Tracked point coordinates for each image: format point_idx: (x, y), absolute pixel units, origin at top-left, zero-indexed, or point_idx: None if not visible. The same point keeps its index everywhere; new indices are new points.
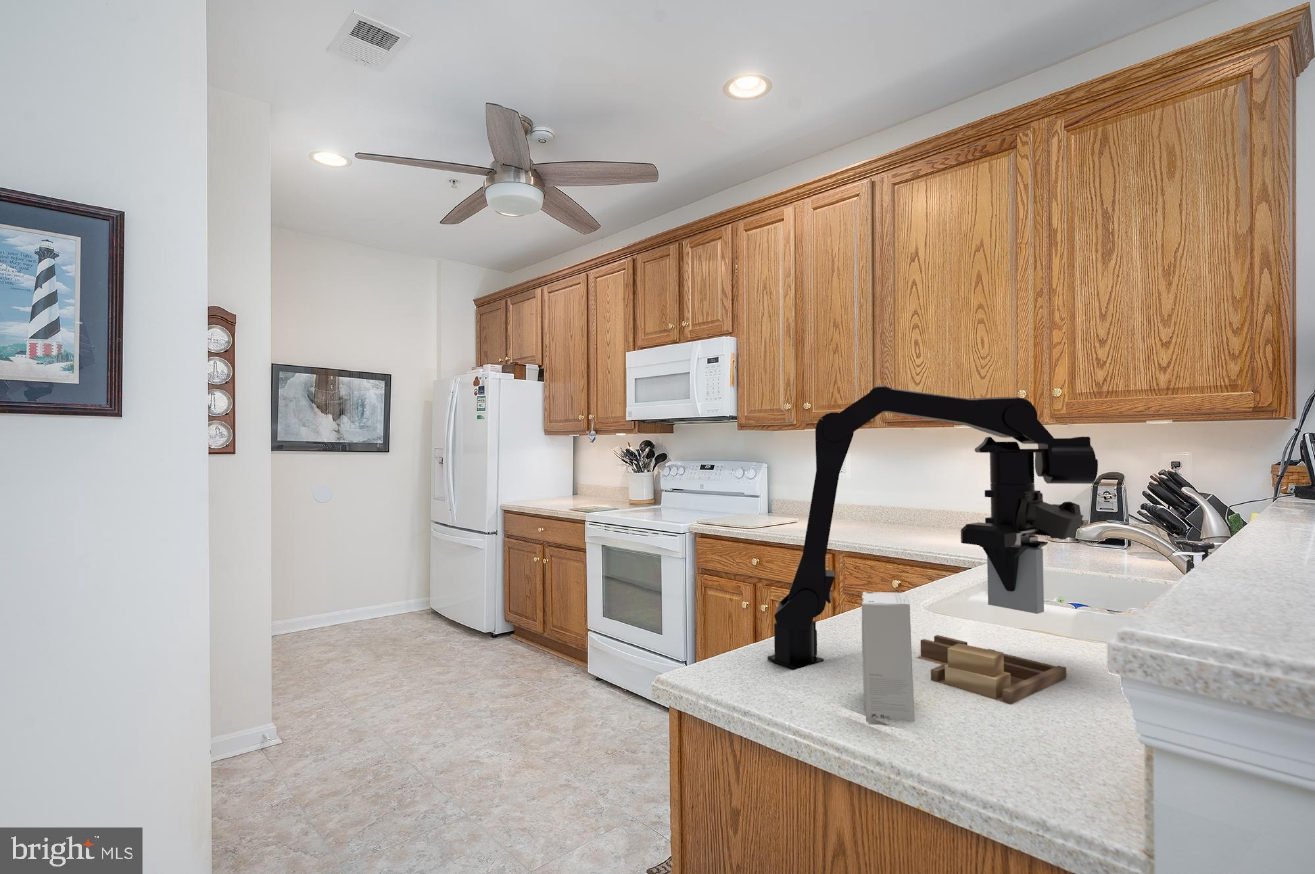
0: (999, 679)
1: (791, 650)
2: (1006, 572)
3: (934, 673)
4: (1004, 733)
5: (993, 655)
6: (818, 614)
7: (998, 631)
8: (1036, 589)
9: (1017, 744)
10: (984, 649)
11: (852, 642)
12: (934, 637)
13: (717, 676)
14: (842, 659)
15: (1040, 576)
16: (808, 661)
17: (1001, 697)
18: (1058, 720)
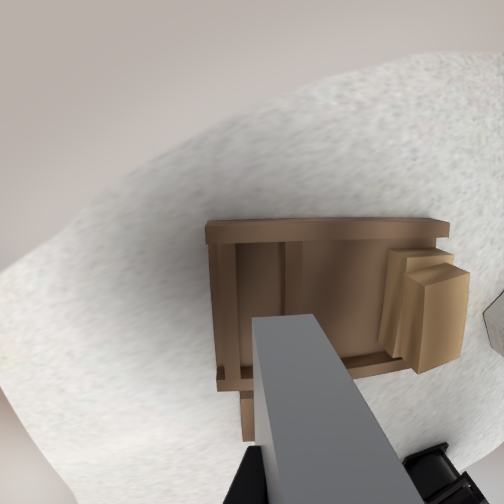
0: (439, 255)
1: (449, 462)
2: None
3: None
4: (488, 188)
5: (454, 285)
6: (462, 487)
7: (37, 424)
8: (345, 372)
9: (499, 164)
10: (428, 321)
11: None
12: None
13: (487, 440)
14: None
15: (319, 425)
16: (430, 454)
17: (423, 244)
18: (408, 151)
